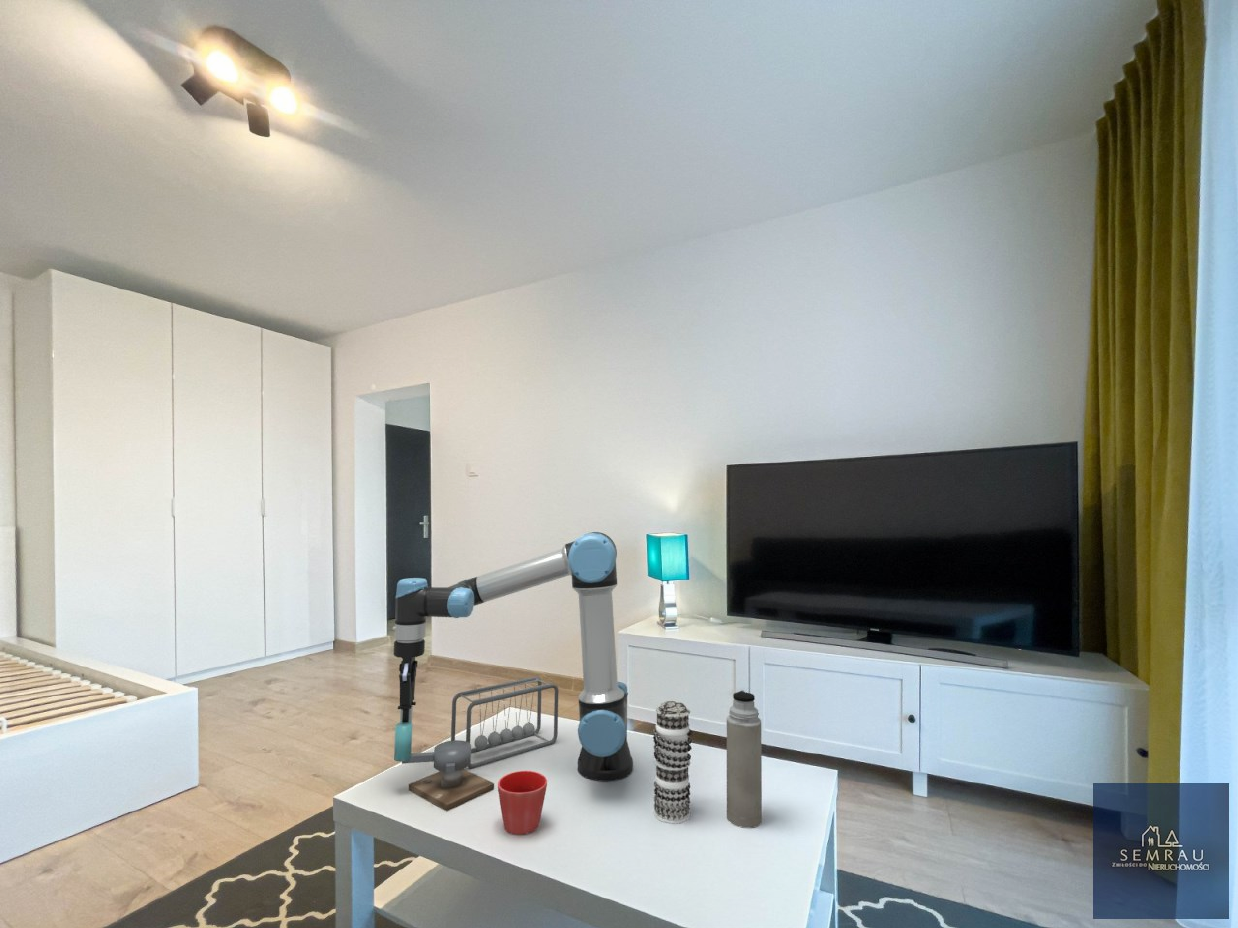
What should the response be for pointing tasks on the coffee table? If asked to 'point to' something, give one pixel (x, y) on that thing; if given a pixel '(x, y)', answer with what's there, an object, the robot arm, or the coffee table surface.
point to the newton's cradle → (505, 734)
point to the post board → (451, 788)
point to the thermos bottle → (744, 762)
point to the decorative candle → (672, 763)
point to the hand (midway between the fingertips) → (405, 733)
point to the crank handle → (444, 755)
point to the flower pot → (522, 801)
